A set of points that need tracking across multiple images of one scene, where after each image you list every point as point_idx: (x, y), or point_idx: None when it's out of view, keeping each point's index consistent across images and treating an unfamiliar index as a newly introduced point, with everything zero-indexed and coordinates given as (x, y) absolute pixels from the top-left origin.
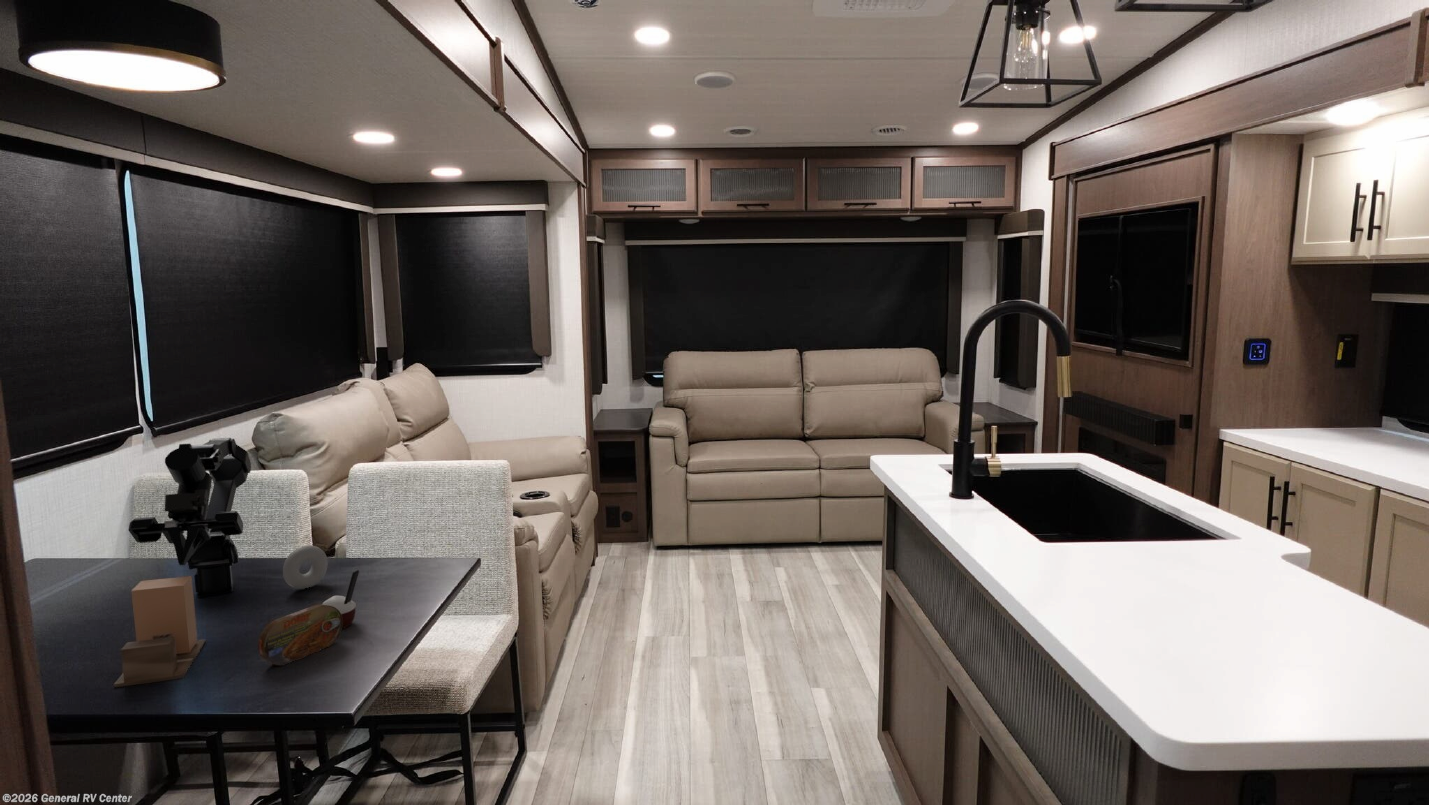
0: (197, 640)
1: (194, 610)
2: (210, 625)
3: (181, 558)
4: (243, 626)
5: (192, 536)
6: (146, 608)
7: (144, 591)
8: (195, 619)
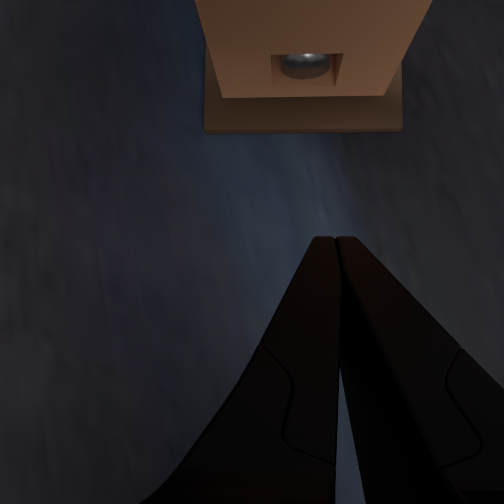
0: (222, 95)
1: (202, 22)
2: (227, 295)
3: (340, 262)
4: (105, 242)
5: (227, 479)
6: None
7: None
8: (209, 49)
